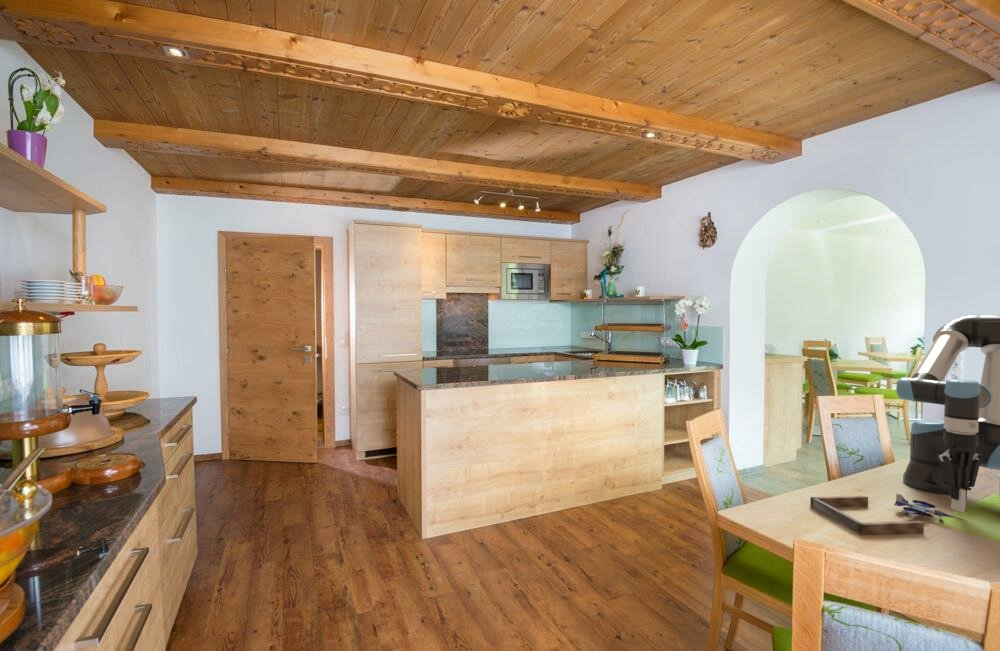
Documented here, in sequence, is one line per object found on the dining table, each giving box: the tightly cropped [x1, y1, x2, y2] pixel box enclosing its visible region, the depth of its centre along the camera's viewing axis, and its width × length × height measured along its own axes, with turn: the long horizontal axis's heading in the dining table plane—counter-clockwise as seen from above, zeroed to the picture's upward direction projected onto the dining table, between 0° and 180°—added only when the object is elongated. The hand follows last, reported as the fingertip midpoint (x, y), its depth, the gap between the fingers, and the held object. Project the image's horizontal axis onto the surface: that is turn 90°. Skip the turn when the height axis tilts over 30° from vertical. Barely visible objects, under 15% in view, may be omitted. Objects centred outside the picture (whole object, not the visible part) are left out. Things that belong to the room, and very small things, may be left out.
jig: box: [809, 495, 925, 537], centre depth 141 cm, size 18×19×3 cm
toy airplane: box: [893, 493, 964, 523], centre depth 142 cm, size 13×14×4 cm
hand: (958, 509), depth 143 cm, fingers closed
